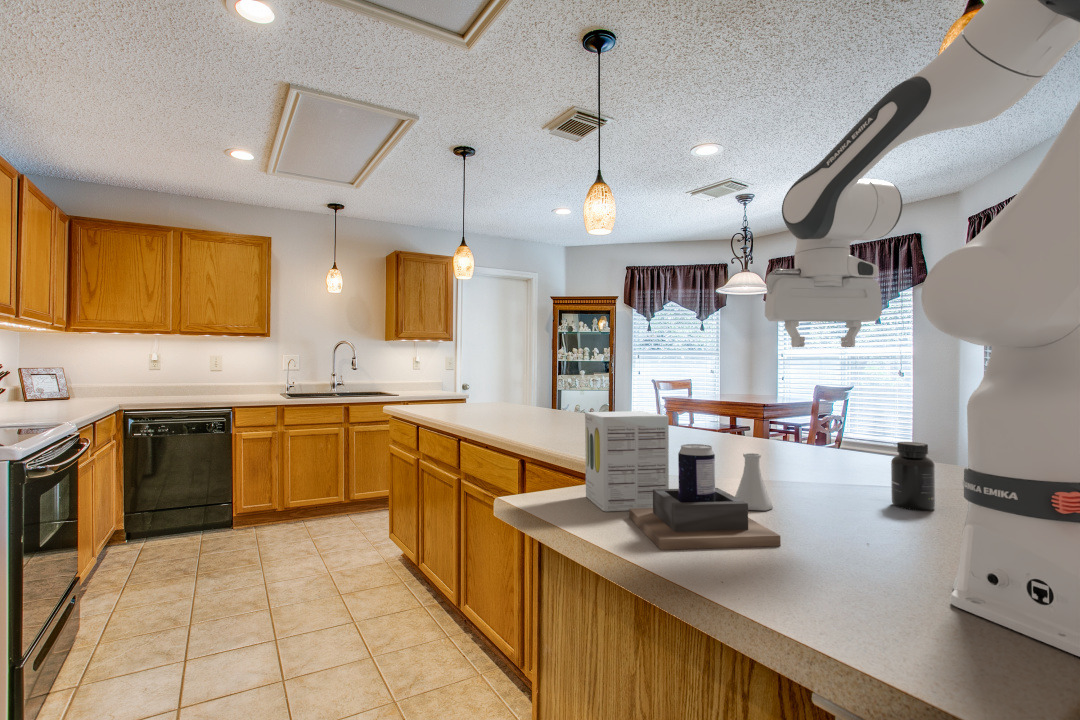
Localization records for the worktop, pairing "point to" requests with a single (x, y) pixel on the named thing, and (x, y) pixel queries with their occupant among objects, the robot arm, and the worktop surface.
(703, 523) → the square holder on base
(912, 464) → the supplement bottle
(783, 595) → the worktop surface
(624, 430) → the supplement box
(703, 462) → the beverage can
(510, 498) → the worktop surface
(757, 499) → the flask
